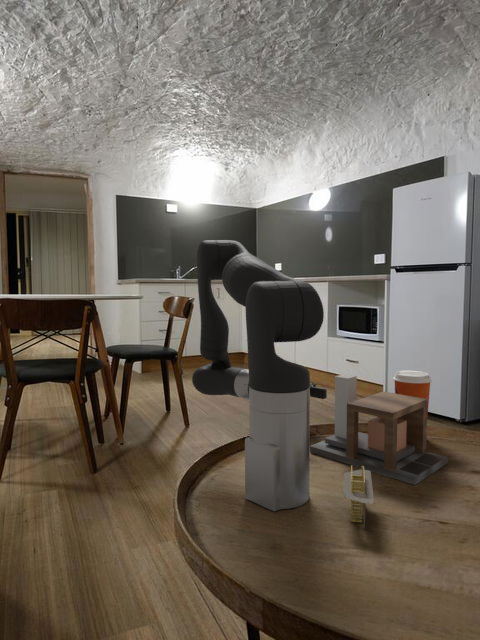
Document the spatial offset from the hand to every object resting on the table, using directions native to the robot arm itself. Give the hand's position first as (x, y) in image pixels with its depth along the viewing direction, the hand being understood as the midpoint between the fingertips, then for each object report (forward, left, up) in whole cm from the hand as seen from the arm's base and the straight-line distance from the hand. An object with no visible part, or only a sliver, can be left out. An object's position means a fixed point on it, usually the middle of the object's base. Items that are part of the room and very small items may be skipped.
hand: (313, 397), depth 98 cm
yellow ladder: (-21, -24, -10) cm, 33 cm away
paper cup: (+15, -14, -9) cm, 23 cm away
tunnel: (0, -15, -9) cm, 17 cm away
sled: (0, -13, -7) cm, 15 cm away
